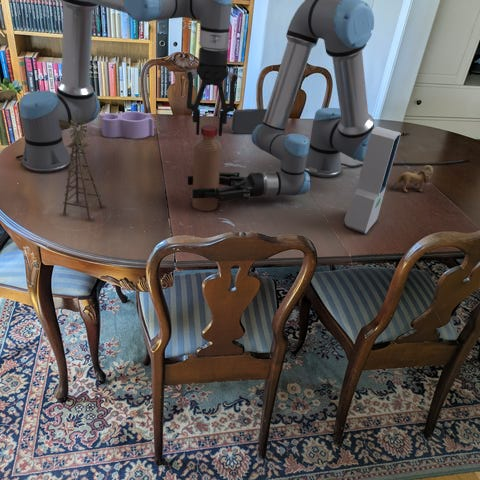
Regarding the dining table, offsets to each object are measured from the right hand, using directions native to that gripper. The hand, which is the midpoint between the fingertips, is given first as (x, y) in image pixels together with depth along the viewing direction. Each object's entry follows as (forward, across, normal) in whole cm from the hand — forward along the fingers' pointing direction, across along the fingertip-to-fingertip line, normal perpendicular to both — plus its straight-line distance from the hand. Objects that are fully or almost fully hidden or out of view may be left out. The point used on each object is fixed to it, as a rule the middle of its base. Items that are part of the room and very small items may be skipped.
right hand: (190, 187), depth 141 cm
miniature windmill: (+31, -1, -6) cm, 32 cm away
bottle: (-5, 0, -6) cm, 8 cm away
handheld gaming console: (-40, +62, -6) cm, 74 cm away
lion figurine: (-82, +4, -6) cm, 82 cm away
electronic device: (-51, -17, -6) cm, 54 cm away
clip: (+15, +62, -6) cm, 64 cm away
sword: (-101, +53, -6) cm, 115 cm away
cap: (-5, 0, +18) cm, 19 cm away
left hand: (-5, 0, +17) cm, 17 cm away
